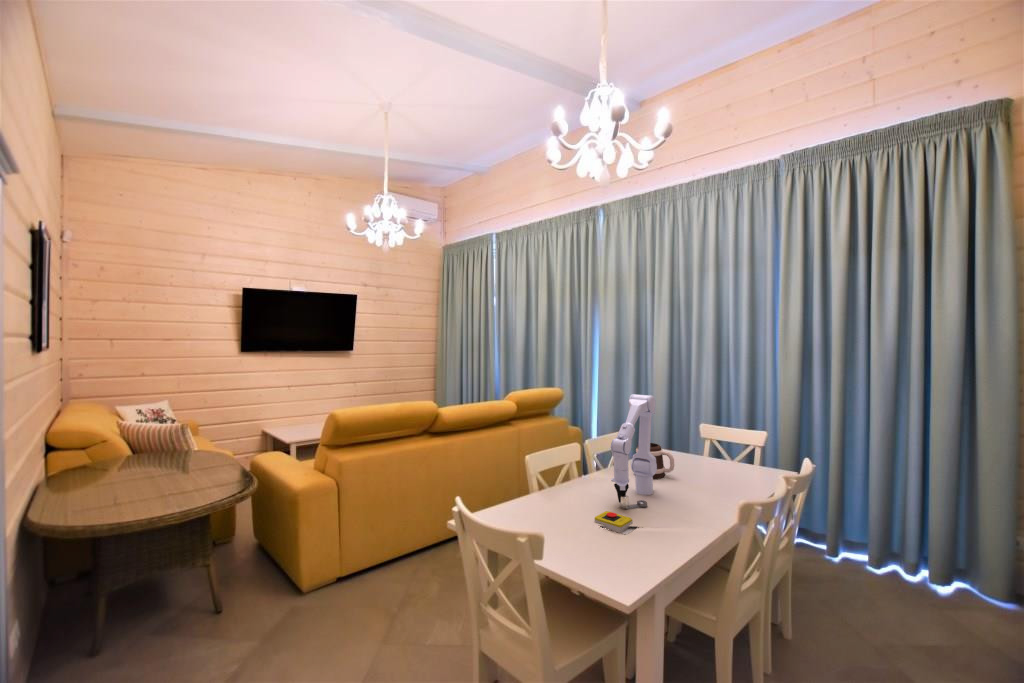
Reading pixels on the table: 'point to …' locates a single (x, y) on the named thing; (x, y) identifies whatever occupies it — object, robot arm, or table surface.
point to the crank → (639, 504)
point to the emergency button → (615, 522)
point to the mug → (660, 460)
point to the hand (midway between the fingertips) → (621, 502)
